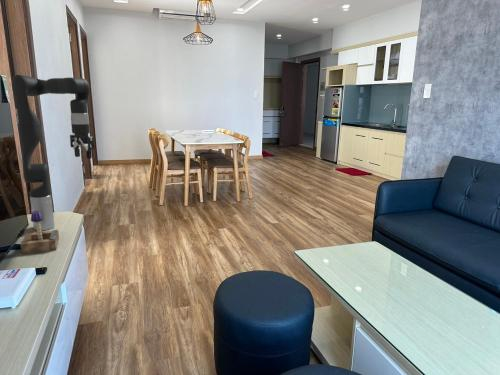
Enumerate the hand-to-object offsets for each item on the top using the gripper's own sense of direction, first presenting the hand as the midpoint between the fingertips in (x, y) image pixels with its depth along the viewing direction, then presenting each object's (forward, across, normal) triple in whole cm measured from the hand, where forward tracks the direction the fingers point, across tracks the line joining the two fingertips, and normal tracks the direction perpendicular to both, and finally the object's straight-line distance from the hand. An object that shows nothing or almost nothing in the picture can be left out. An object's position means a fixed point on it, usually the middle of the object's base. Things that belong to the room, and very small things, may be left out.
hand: (83, 157), depth 166 cm
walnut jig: (+38, +4, +22) cm, 44 cm away
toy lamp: (+38, +4, +22) cm, 45 cm away
